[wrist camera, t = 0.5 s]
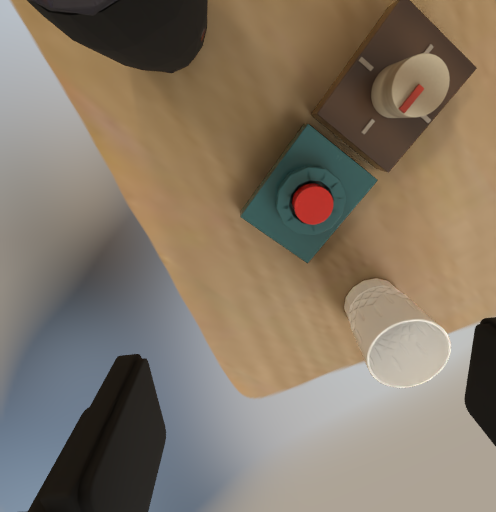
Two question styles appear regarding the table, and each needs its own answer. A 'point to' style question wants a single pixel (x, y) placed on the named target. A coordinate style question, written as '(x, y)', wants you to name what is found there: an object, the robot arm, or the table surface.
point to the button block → (296, 175)
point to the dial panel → (364, 74)
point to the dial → (411, 87)
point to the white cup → (395, 335)
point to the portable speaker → (133, 29)
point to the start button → (312, 203)
